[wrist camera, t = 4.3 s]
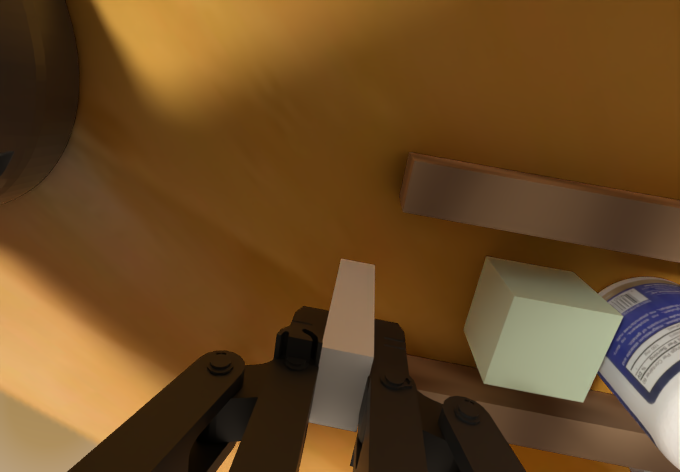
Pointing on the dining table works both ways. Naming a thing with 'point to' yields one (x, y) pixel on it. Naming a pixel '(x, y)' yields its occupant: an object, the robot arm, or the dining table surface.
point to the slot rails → (558, 224)
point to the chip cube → (538, 329)
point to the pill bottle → (647, 358)
